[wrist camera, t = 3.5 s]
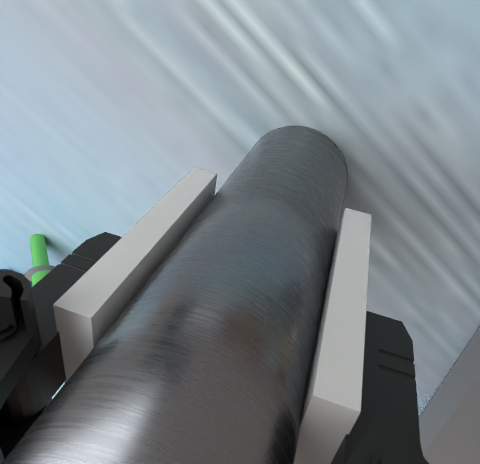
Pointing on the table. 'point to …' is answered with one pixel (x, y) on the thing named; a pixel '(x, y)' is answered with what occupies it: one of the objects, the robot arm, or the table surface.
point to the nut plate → (455, 413)
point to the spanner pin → (213, 328)
